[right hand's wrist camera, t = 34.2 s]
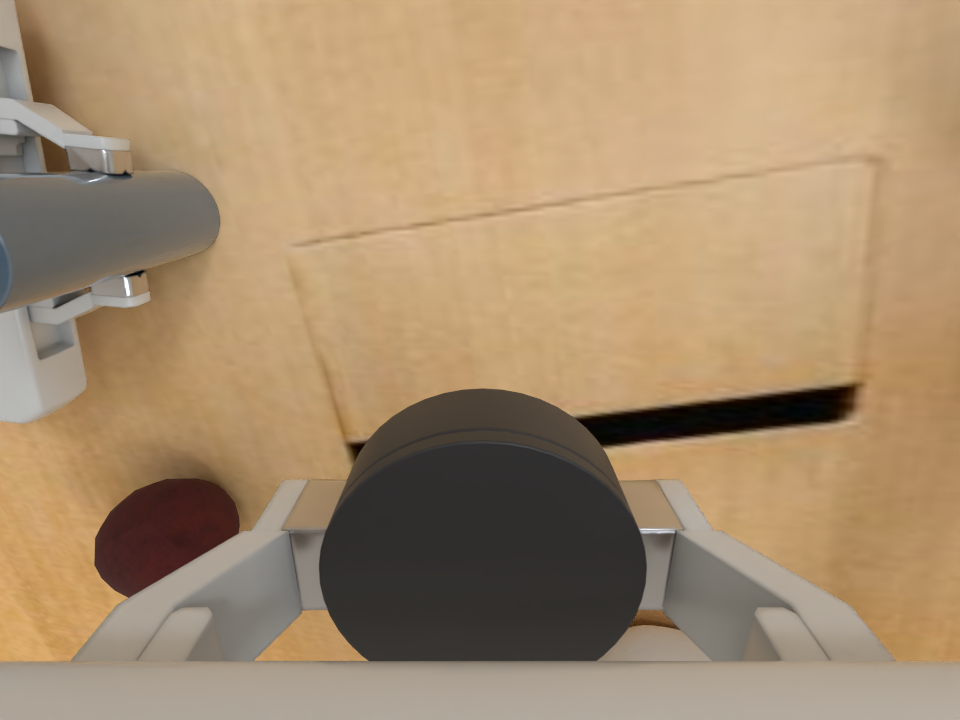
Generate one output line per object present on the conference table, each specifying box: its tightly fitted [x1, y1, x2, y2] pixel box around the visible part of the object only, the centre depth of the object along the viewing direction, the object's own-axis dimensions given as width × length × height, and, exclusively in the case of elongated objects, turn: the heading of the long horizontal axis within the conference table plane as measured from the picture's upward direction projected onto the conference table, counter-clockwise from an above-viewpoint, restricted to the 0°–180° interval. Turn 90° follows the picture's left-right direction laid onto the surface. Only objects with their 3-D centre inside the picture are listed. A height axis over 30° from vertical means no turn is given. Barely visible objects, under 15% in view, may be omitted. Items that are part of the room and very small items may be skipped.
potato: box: [95, 479, 240, 598], centre depth 31 cm, size 7×8×7 cm
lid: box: [319, 389, 647, 661], centre depth 9 cm, size 5×5×2 cm
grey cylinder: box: [0, 170, 220, 314], centre depth 21 cm, size 4×4×15 cm
